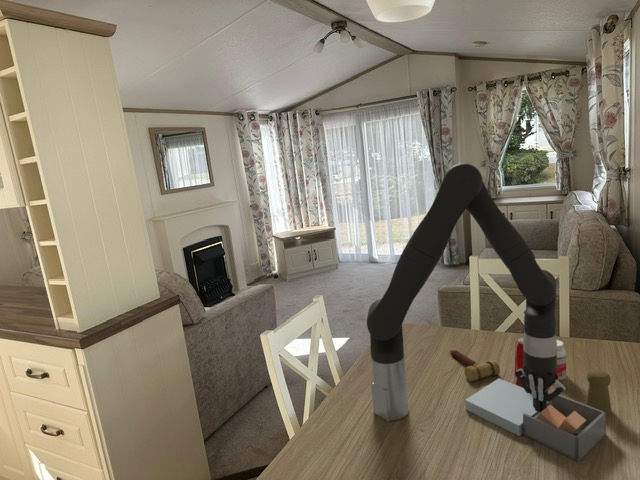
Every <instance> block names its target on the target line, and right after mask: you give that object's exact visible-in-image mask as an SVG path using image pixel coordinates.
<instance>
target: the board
mask: <svg viewBox="0 0 640 480" xmlns="http://www.w3.org/2000/svg"><path fill="white" fill-rule="evenodd" d="M464 402H465V410H466V411H468V412H470V413H472V414H474V415H476V416H478V417H480V418H483V419H484V420H486V421H488V422H490V423H492V424H494V425H497V426H498V427H500V428H502V429H505V430H506V431H508V432H510V433H512V434H514V435H516V436H518V437H520V436H521V435H523V414H524V413H525V414H527V415H530V416H532V417H535V416H536V415H537V414H538V413H540V412H537V411H535V408H534V407H533V397H532V395H531V394H530V393H527V392H526V391H525V390H524V388H522V387H519V386H517V385H515V383H511V382H509V381H507V380H504V379H502V378H500V377H499V378H497V379H496V380H494V381H493V382H491V383H489V384H488V385H486V386H484V387H483V388H481V389H480V390H478V391H476V393H474V394H472V395H470V396H469V397H467V398H466V399H464ZM550 404H551V401H549V402H548V401H547V406H548V405H550Z"/></svg>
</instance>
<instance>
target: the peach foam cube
mask: <svg viewBox="0 0 640 480" xmlns="http://www.w3.org/2000/svg"><path fill="white" fill-rule="evenodd" d="M536 419H539V420H541V421H543V422H545V423H548V424H550V425H552V426H554V427H557V428H559V427H560V425H561V424H562V422H563V421H564V420H565V419H566V417H565V416H564V415H563V414H561V413H560V412H559V411H558V410H557V409H555V408H554V407H553V406H552V405H549V406H548V407H546V408H545V409H544V410H543V411H541V412H540V413H539V415H538V417H537V418H536Z"/></svg>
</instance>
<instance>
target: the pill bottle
mask: <svg viewBox="0 0 640 480" xmlns="http://www.w3.org/2000/svg"><path fill="white" fill-rule="evenodd" d="M556 340H557V369H556V373H557V376H558V381H561V380H562V381H563V380H565V379H566V377H567V351H566V350H565V348H564V345H565V344H564V342H563V341H561V340H559V339H556Z"/></svg>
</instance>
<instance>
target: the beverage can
mask: <svg viewBox="0 0 640 480" xmlns="http://www.w3.org/2000/svg"><path fill="white" fill-rule="evenodd" d="M523 337H524V336H520V337H518V338H517V339H516V342H515V350H514V352H515V353H514V354H515V355H514V375H513V376H514V377H513V382H514V383H513V384H514V385H517V386H519V387H522V388H523V386H522V385H521V383H520V382H519V380H518V378H517V377H516V375H515V372H516V371H517V370H519V369H520V368H522V369H523V366H524V363H523ZM526 384H527V383H526ZM527 386H528V385H527Z"/></svg>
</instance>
